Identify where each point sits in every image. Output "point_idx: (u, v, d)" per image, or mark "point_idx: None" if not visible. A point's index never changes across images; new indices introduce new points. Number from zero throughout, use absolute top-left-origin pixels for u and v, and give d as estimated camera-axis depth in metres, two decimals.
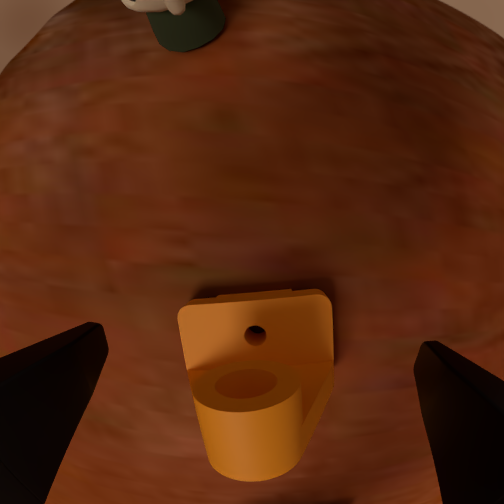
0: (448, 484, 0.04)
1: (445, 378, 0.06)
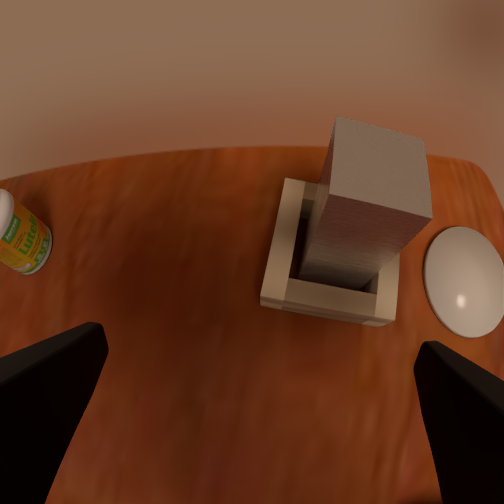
0: (448, 484, 0.04)
1: (445, 378, 0.06)
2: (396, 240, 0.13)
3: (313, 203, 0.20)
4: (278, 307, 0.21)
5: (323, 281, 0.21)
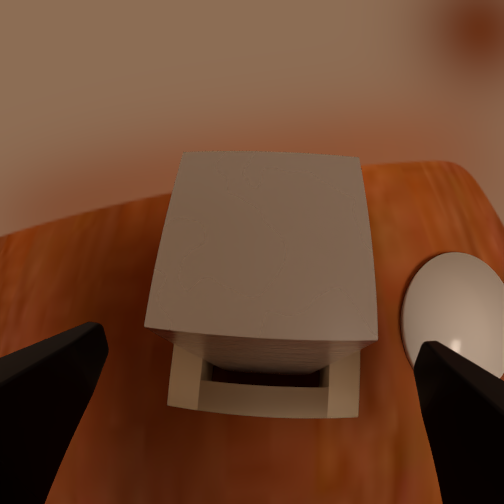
0: (447, 484, 0.04)
1: (445, 378, 0.06)
2: (322, 356, 0.08)
3: None
4: None
5: (256, 371, 0.15)
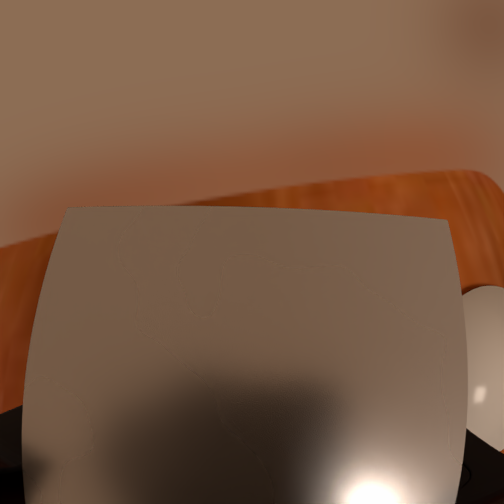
0: None
1: None
2: None
3: None
4: None
5: None
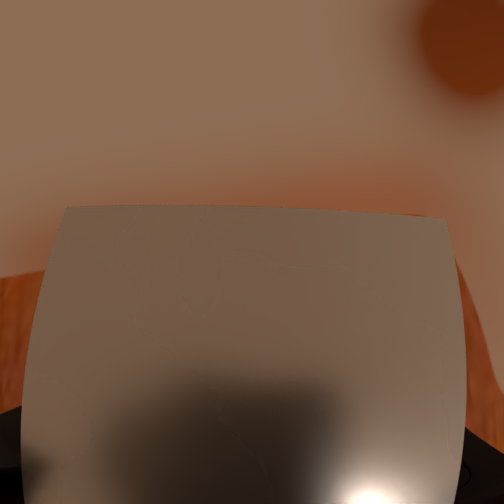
0: None
1: None
2: None
3: None
4: None
5: None
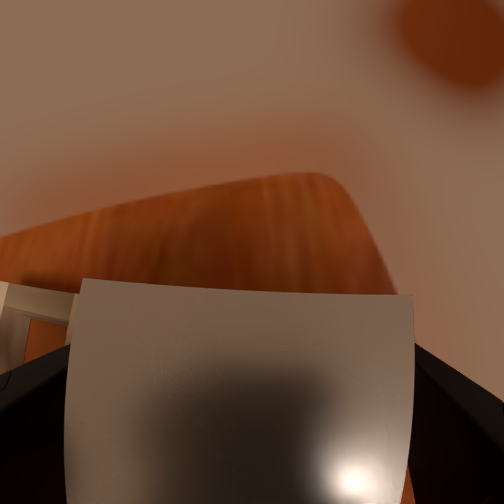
0: (422, 491, 0.04)
1: (418, 381, 0.06)
2: None
3: None
4: None
5: None
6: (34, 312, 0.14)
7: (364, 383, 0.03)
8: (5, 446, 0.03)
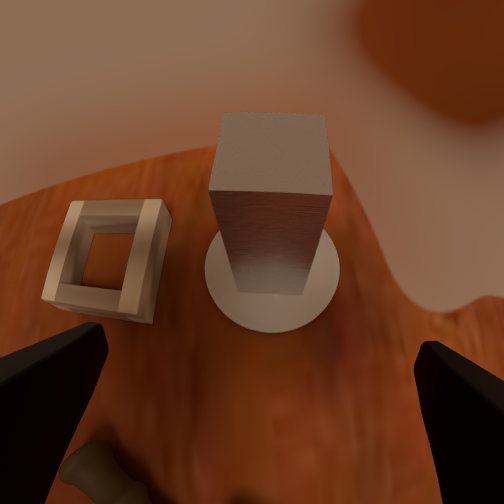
0: (448, 484, 0.04)
1: (445, 378, 0.06)
2: (307, 228, 0.13)
3: None
4: (68, 309, 0.22)
5: (262, 287, 0.21)
6: (109, 215, 0.23)
7: (310, 130, 0.12)
8: None
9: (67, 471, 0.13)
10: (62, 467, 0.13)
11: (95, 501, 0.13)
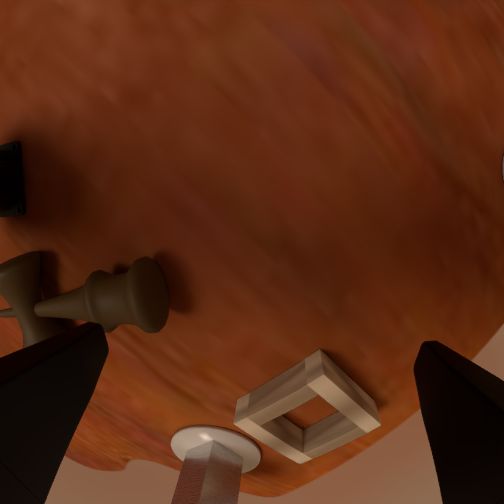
0: (448, 484, 0.04)
1: (445, 378, 0.06)
2: None
3: (238, 486, 0.24)
4: (307, 362, 0.23)
5: (199, 453, 0.26)
6: (328, 441, 0.23)
7: None
8: None
9: (132, 309, 0.18)
10: (137, 307, 0.17)
11: (102, 297, 0.18)
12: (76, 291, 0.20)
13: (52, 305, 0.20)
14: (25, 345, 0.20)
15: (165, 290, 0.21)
